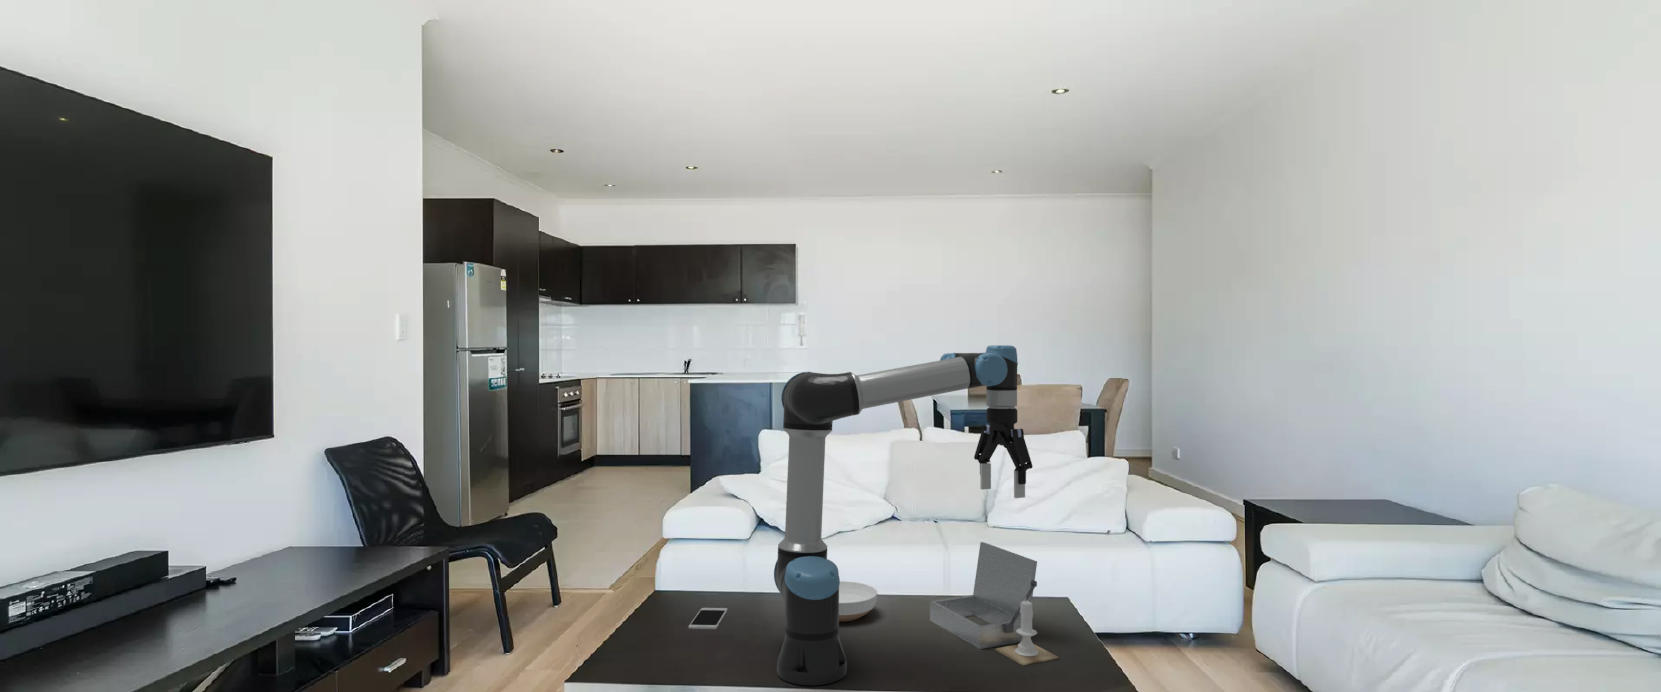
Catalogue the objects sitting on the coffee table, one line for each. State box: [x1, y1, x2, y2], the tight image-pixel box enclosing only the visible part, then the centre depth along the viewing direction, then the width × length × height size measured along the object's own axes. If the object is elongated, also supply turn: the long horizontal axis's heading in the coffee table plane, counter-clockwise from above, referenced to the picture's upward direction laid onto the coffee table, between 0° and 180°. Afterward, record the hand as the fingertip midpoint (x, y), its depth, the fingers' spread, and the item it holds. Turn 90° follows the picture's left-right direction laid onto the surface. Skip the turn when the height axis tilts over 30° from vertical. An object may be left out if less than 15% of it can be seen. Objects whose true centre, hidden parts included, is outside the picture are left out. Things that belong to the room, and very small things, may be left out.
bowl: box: [839, 580, 878, 623], centre depth 206 cm, size 20×20×6 cm
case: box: [929, 541, 1038, 650], centre depth 195 cm, size 17×23×19 cm
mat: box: [995, 643, 1059, 666], centre depth 178 cm, size 10×10×1 cm
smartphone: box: [688, 607, 728, 630], centre depth 203 cm, size 7×15×1 cm, turn 177°
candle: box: [1015, 600, 1039, 657], centre depth 179 cm, size 5×5×12 cm
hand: (1002, 493), depth 192 cm, fingers open, 13 cm apart
